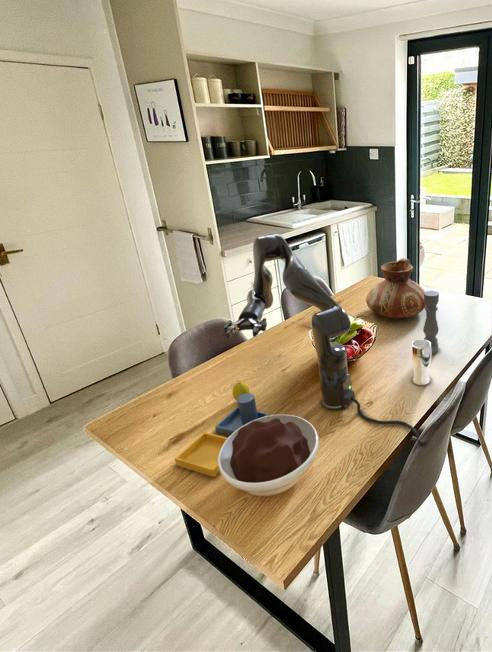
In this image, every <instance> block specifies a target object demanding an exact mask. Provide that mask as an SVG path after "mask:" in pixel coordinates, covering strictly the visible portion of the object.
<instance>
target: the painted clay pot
mask: <svg viewBox="0 0 492 652" xmlns="http://www.w3.org/2000/svg"><path fill="white" fill-rule="evenodd" d="M380 271H381V273H382V274H383V276H384V280H381V281H380V282H378V283H377V284H375V285H374V286H372V288H370V289H369V291H368V293H367V294H366V295H367V296H366V299H365V302H366V305H367V306H366V307H368V309H369V310H370V311H372V312H373V313H375V314H376V315H379V316H382V317H385V318H388V319H395V320H400V319H401V320H402V319H408V318H411V317H413V316H416V315H418V314H420V313H421V312H423V310H425V306H426V304H425V302H424V292H426V291H425V290H424V289H423V287H422V286H421V285H420V284H419V283H417V282H415V281H414V280H412V279H411V278H410V276H411V274H412V273H413V271H414V267H413V265H412V264H411V261H410V259H409V258H403V257H401V258H400V259H398V260H395V261H388V262H385V263H383V264H381V266H380Z"/></svg>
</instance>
